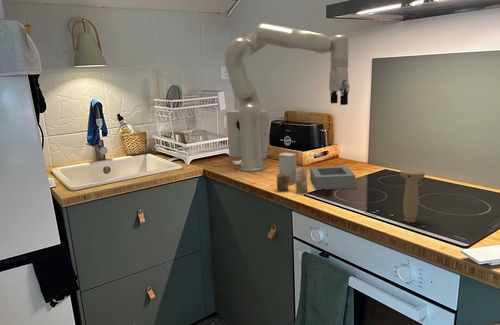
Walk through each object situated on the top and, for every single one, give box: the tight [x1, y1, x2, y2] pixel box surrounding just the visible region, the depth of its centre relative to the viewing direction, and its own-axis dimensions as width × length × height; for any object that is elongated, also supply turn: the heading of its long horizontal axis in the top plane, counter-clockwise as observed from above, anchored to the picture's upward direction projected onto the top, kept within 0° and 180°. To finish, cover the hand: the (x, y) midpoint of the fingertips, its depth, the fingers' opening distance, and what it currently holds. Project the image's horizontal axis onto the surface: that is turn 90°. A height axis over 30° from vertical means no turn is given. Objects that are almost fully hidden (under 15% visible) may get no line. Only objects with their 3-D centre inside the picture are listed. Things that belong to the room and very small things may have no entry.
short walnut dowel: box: [276, 173, 289, 193], centre depth 145 cm, size 4×4×6 cm
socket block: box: [309, 165, 356, 191], centre depth 151 cm, size 15×15×5 cm
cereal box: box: [226, 109, 270, 160], centre depth 205 cm, size 22×8×25 cm, turn 60°
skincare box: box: [278, 152, 297, 186], centre depth 154 cm, size 6×4×12 cm
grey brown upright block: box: [295, 167, 308, 195], centre depth 141 cm, size 4×4×9 cm
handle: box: [399, 168, 426, 223], centre depth 109 cm, size 5×6×15 cm
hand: (338, 103), depth 169 cm, fingers open, 9 cm apart
